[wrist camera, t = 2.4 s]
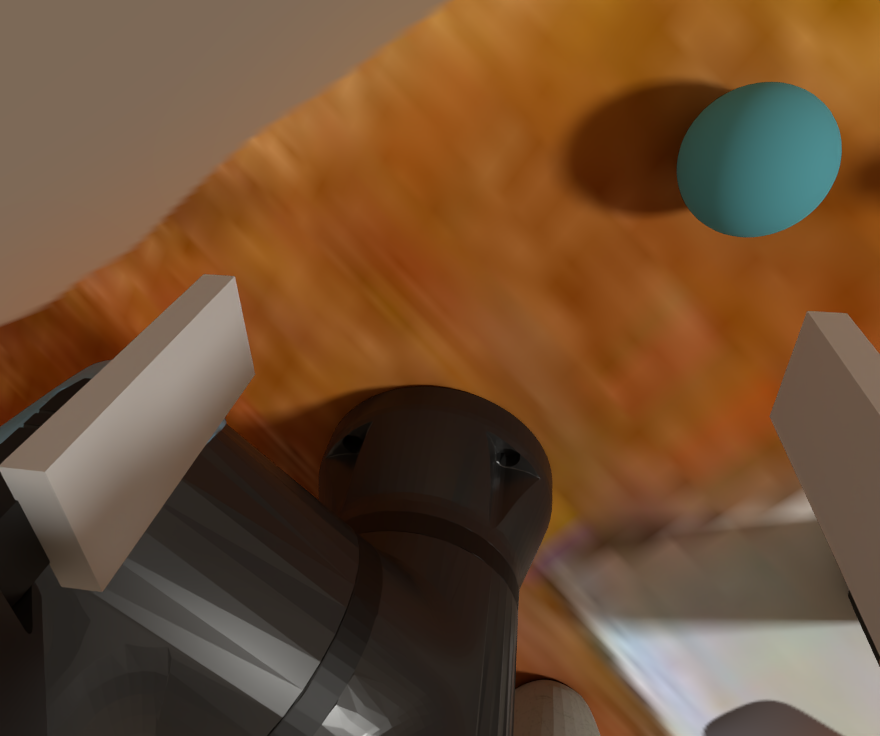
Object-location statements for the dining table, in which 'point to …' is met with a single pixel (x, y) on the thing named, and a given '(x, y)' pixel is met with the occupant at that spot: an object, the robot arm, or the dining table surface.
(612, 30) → the dining table surface
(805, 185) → the ball
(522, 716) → the bowling pin
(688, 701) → the dining table surface
